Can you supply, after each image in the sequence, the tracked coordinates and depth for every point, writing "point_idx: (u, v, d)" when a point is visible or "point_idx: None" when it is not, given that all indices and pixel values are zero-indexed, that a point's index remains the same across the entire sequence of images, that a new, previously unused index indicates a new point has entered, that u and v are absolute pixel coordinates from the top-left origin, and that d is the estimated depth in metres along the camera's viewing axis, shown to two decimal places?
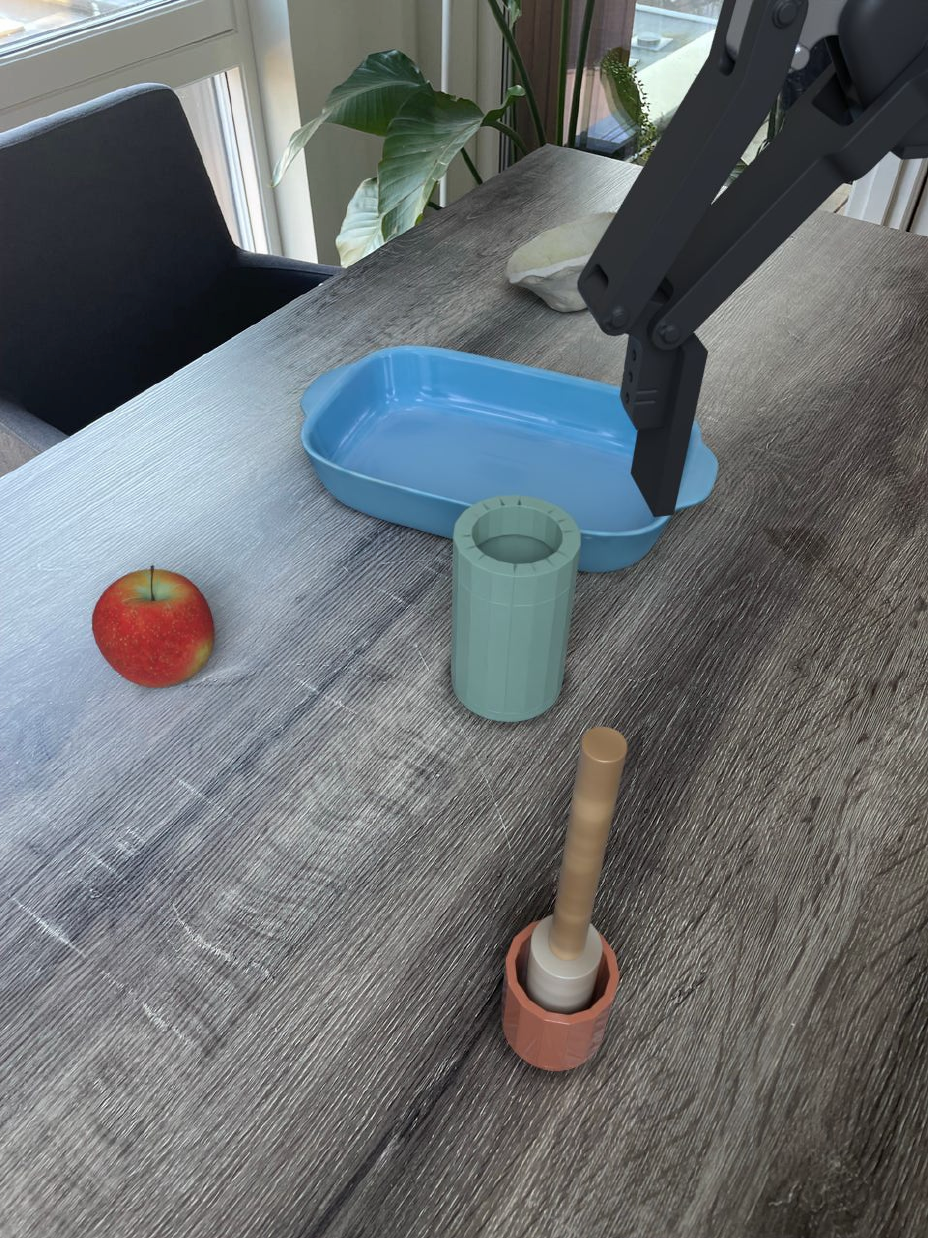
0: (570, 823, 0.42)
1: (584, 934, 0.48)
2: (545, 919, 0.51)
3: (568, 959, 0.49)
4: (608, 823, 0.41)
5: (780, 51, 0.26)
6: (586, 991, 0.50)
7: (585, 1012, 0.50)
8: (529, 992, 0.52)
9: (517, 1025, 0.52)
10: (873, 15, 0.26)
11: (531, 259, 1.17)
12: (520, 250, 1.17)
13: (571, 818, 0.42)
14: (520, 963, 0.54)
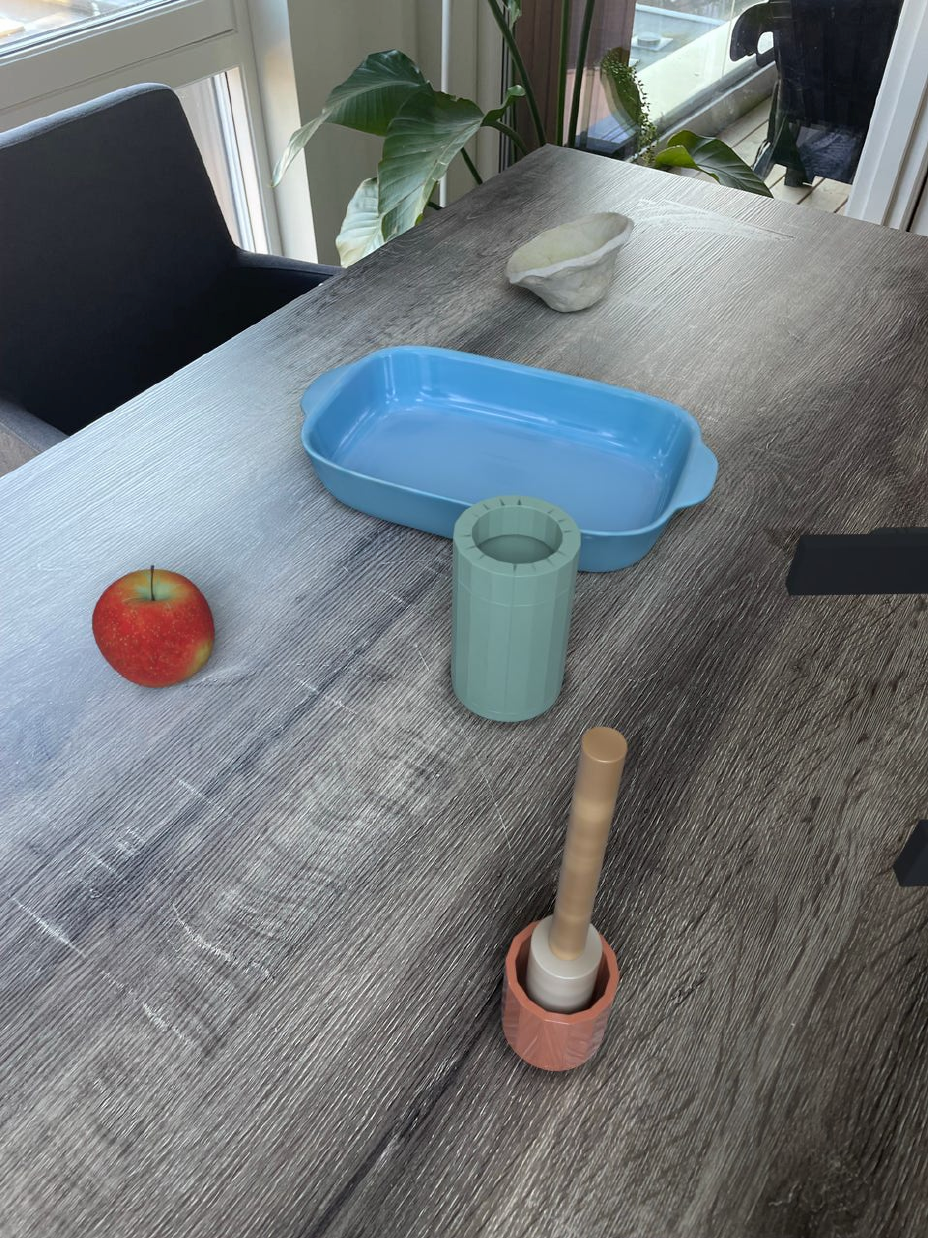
0: (570, 823, 0.42)
1: (584, 934, 0.48)
2: (545, 919, 0.51)
3: (568, 959, 0.49)
4: (608, 823, 0.41)
5: None
6: (586, 991, 0.50)
7: (585, 1012, 0.50)
8: (529, 992, 0.52)
9: (517, 1025, 0.52)
10: None
11: (531, 259, 1.17)
12: (520, 250, 1.17)
13: (571, 818, 0.42)
14: (520, 963, 0.54)
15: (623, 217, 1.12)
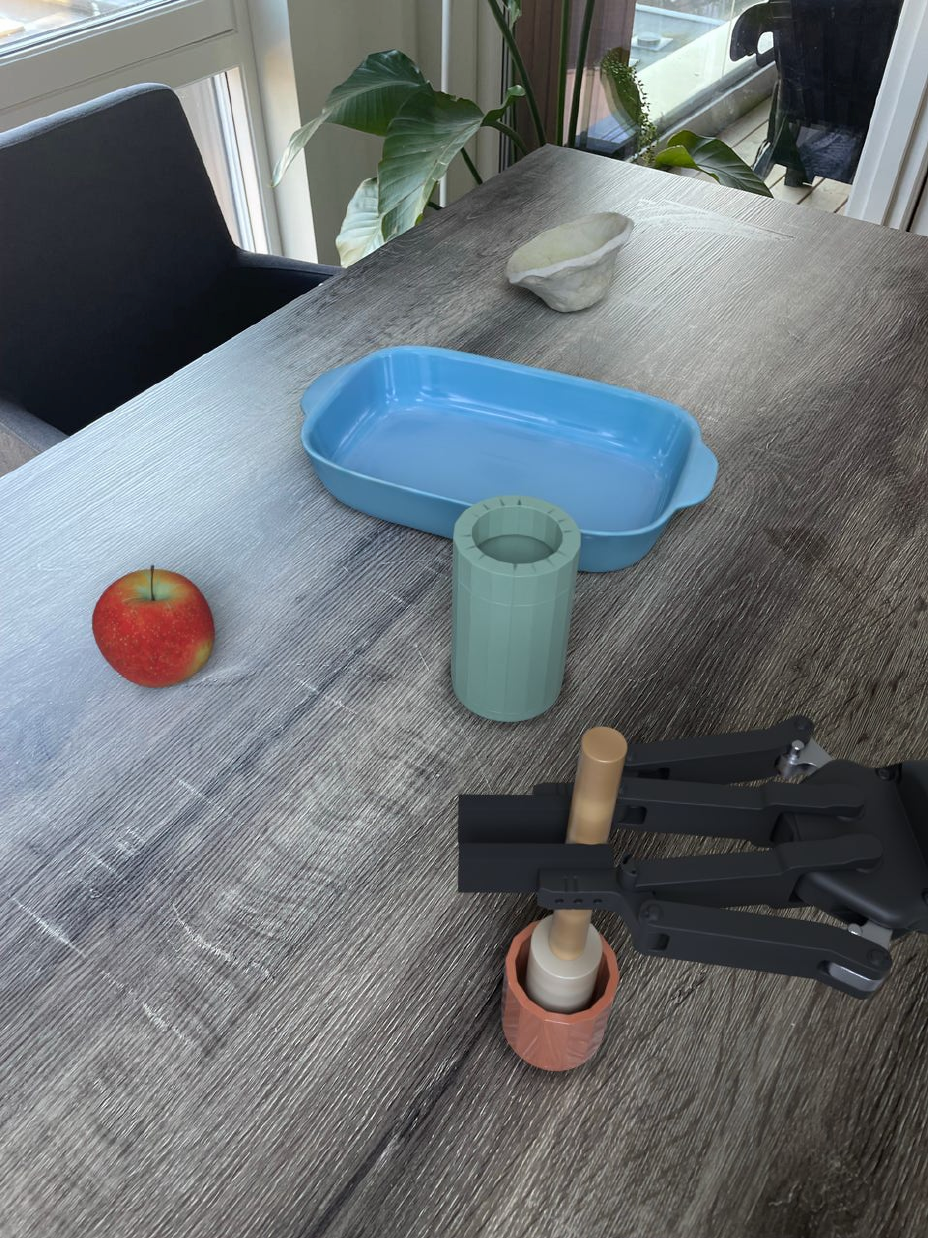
0: (570, 823, 0.42)
1: (584, 934, 0.48)
2: (545, 919, 0.51)
3: (568, 959, 0.49)
4: (608, 823, 0.41)
5: (790, 734, 0.47)
6: (586, 991, 0.50)
7: (585, 1012, 0.50)
8: (529, 992, 0.52)
9: (517, 1025, 0.52)
10: (849, 763, 0.46)
11: (531, 259, 1.17)
12: (520, 250, 1.17)
13: (571, 818, 0.42)
14: (520, 963, 0.54)
15: (623, 217, 1.12)
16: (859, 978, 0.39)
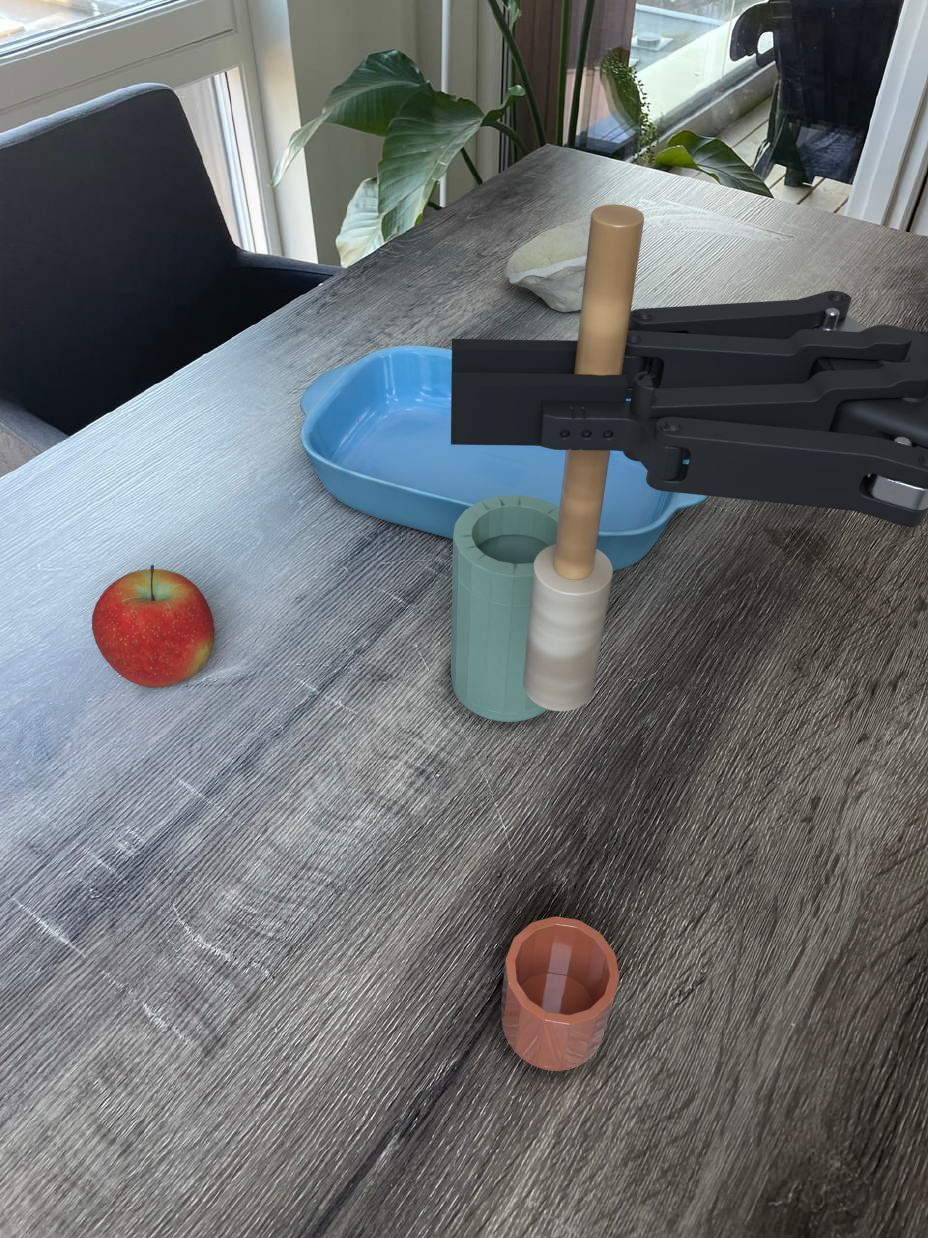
0: (578, 351, 0.37)
1: (593, 538, 0.43)
2: (549, 547, 0.46)
3: (575, 576, 0.44)
4: (621, 343, 0.36)
5: (824, 303, 0.42)
6: (595, 623, 0.46)
7: (585, 1012, 0.50)
8: (531, 636, 0.47)
9: (517, 1025, 0.52)
10: (891, 326, 0.41)
11: (531, 259, 1.17)
12: (520, 250, 1.17)
13: (579, 342, 0.37)
14: (520, 963, 0.54)
15: None
16: (908, 489, 0.34)
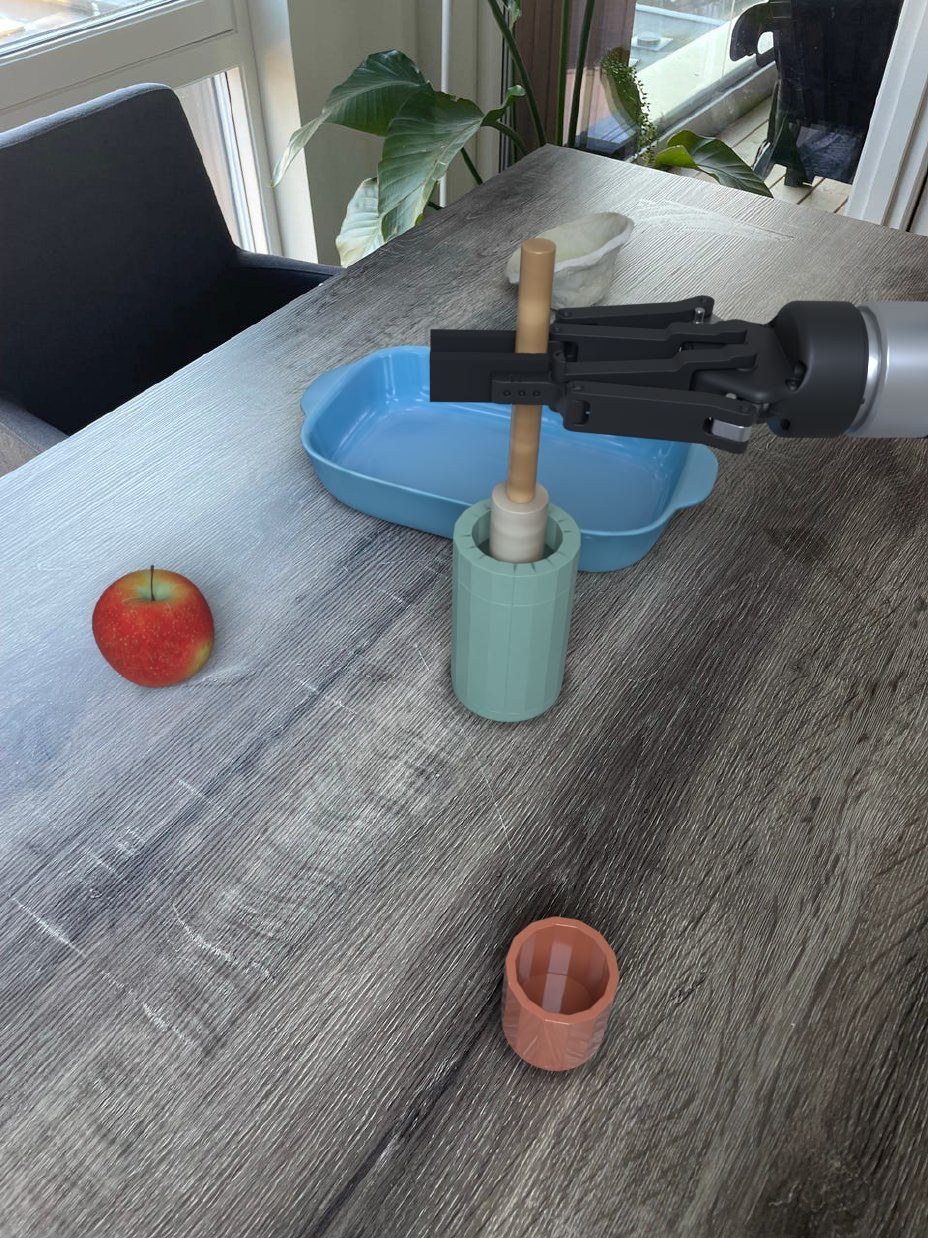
0: (516, 336, 0.54)
1: (533, 471, 0.60)
2: (504, 481, 0.63)
3: (521, 500, 0.61)
4: (544, 330, 0.54)
5: (695, 304, 0.59)
6: (536, 536, 0.63)
7: (585, 1012, 0.50)
8: (491, 548, 0.64)
9: (517, 1025, 0.52)
10: (739, 320, 0.58)
11: None
12: (520, 250, 1.17)
13: (517, 330, 0.54)
14: (520, 963, 0.54)
15: (623, 217, 1.12)
16: (733, 427, 0.52)
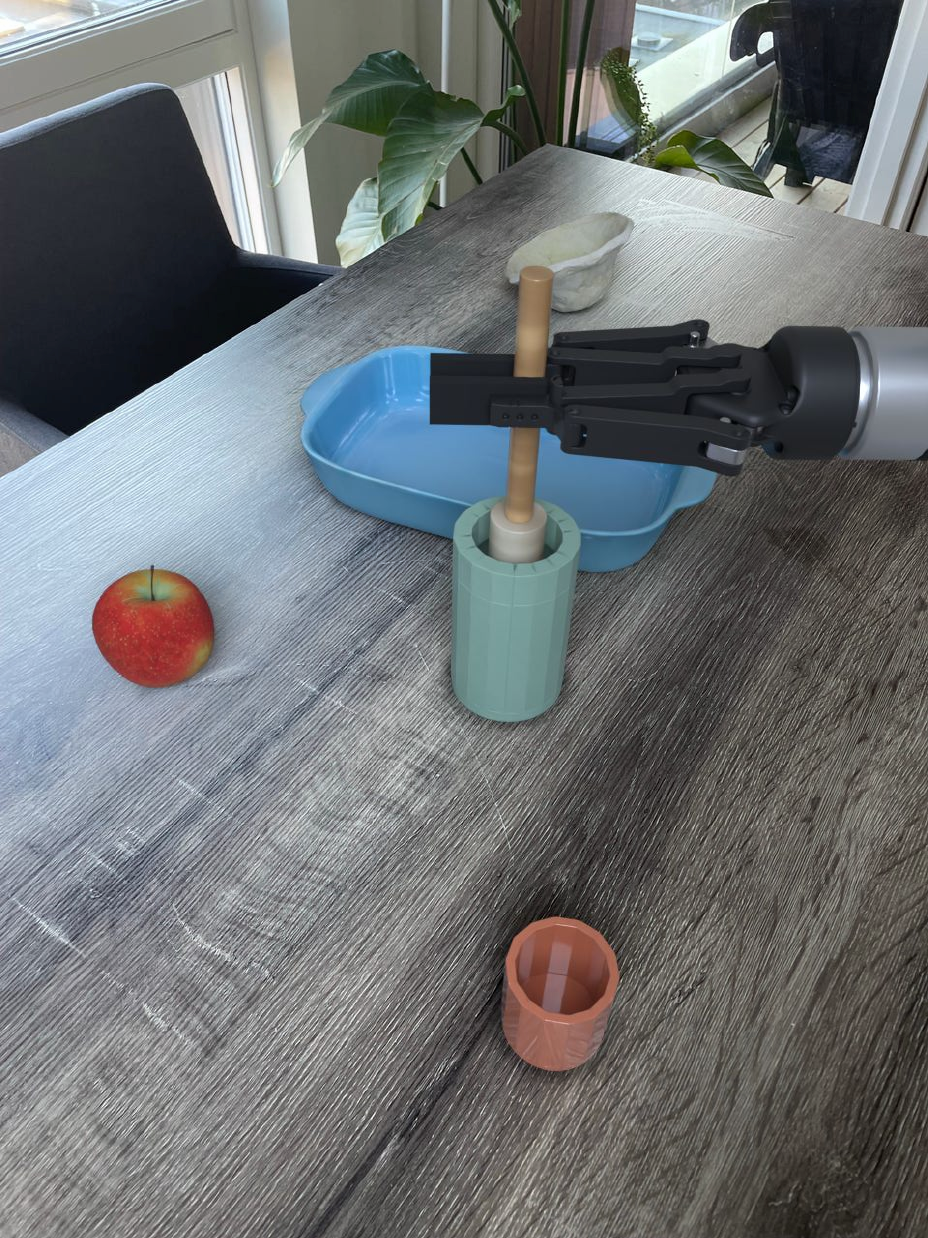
0: (515, 361, 0.55)
1: (531, 492, 0.61)
2: (502, 501, 0.64)
3: (519, 520, 0.62)
4: (542, 355, 0.55)
5: (690, 328, 0.60)
6: (534, 555, 0.64)
7: (585, 1012, 0.50)
8: None
9: (517, 1025, 0.52)
10: (734, 344, 0.59)
11: (531, 259, 1.17)
12: (520, 250, 1.17)
13: (515, 355, 0.55)
14: (520, 963, 0.54)
15: (623, 217, 1.12)
16: (727, 451, 0.53)
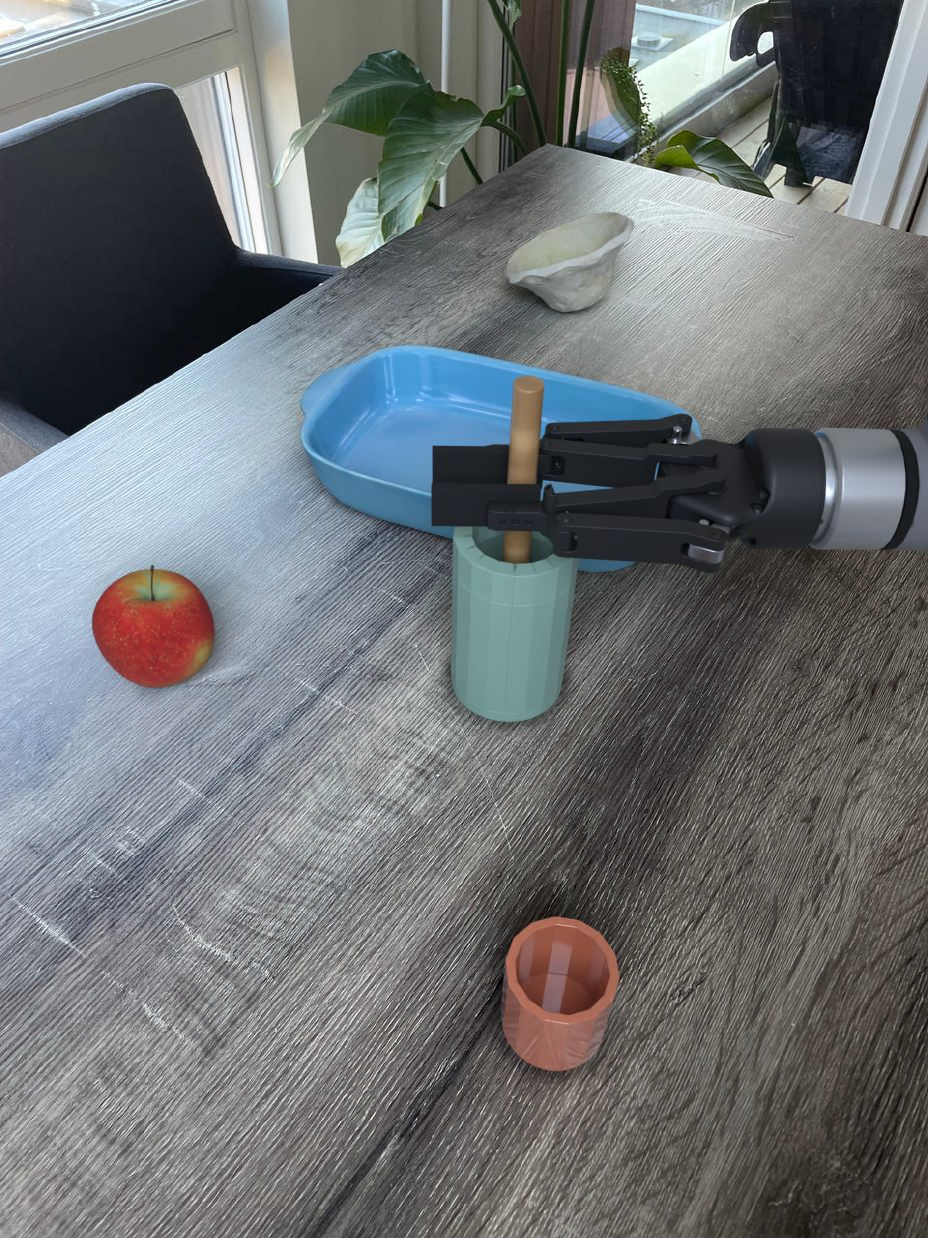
0: (509, 459, 0.60)
1: None
2: None
3: None
4: (534, 454, 0.59)
5: (673, 423, 0.65)
6: None
7: (585, 1012, 0.50)
8: None
9: (517, 1025, 0.52)
10: (712, 440, 0.64)
11: (531, 259, 1.17)
12: (520, 250, 1.17)
13: (509, 454, 0.60)
14: (520, 963, 0.54)
15: (623, 217, 1.12)
16: (707, 552, 0.57)
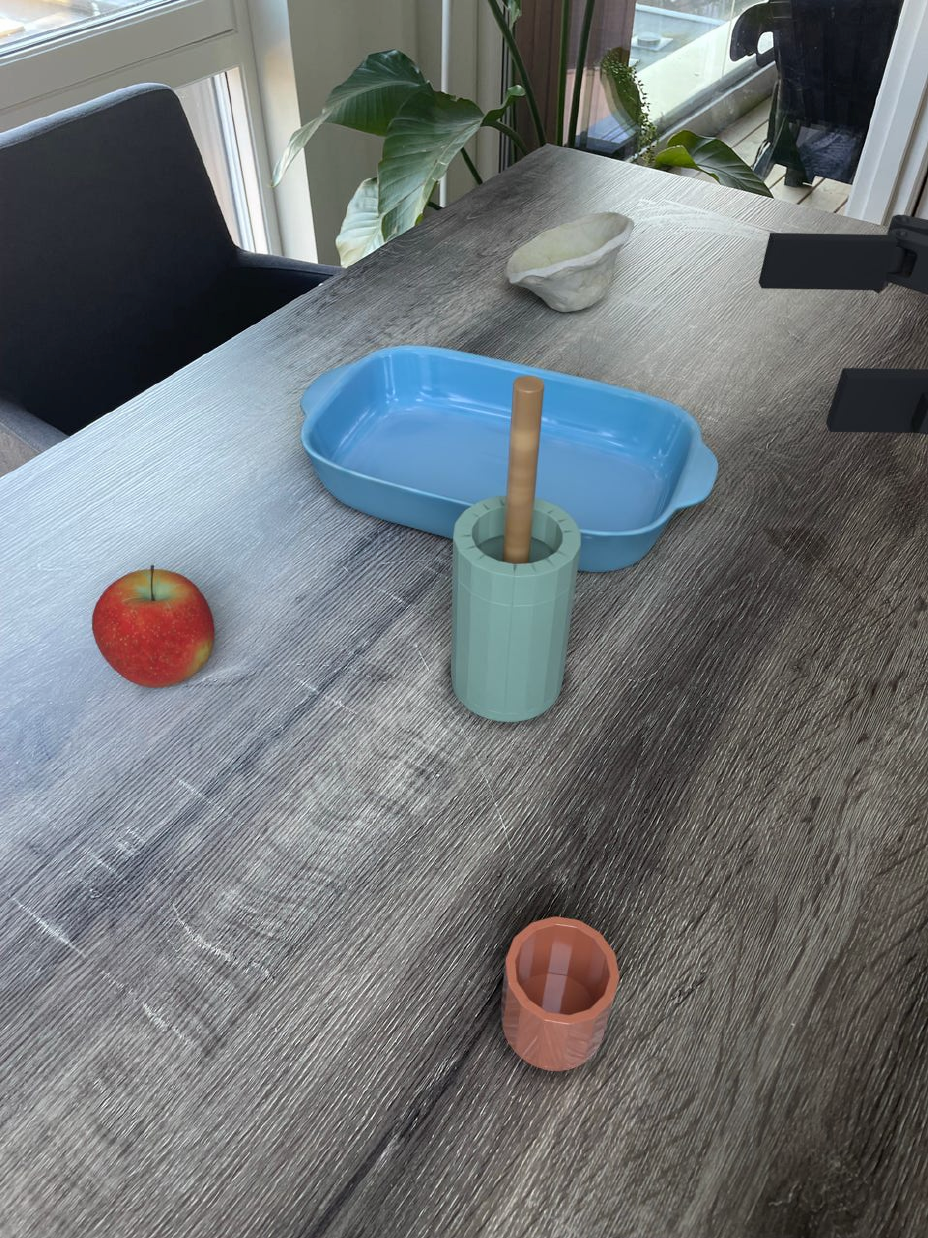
0: (509, 459, 0.60)
1: None
2: None
3: None
4: (534, 454, 0.59)
5: None
6: None
7: (585, 1012, 0.50)
8: None
9: (517, 1025, 0.52)
10: None
11: (531, 259, 1.17)
12: (520, 250, 1.17)
13: (509, 453, 0.60)
14: (520, 963, 0.54)
15: (623, 217, 1.12)
16: None
